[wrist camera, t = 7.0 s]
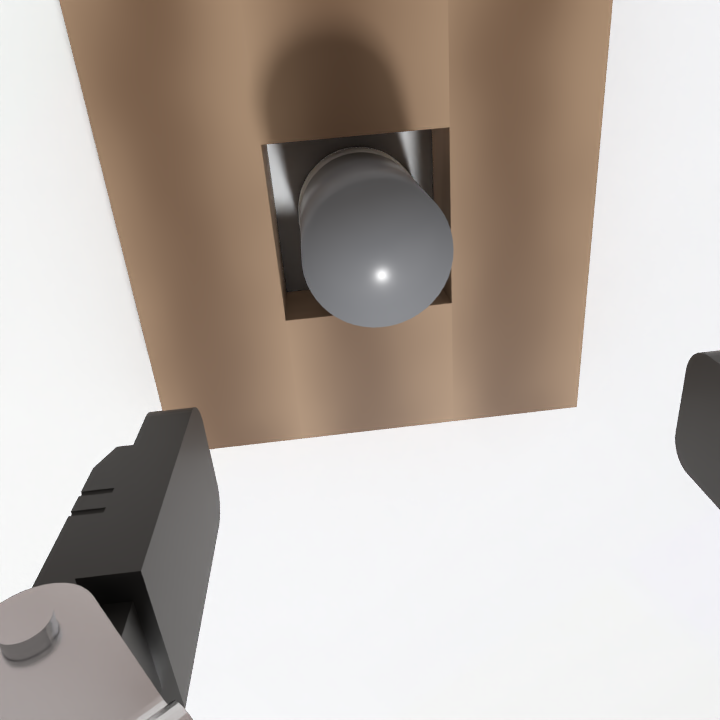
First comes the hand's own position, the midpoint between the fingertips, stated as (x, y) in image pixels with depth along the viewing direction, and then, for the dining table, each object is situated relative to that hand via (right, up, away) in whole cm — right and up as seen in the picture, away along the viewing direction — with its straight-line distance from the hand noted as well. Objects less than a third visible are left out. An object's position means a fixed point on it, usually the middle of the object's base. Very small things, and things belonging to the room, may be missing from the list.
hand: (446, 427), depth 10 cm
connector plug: (-2, +7, +13) cm, 15 cm away
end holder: (-2, +7, +13) cm, 15 cm away
